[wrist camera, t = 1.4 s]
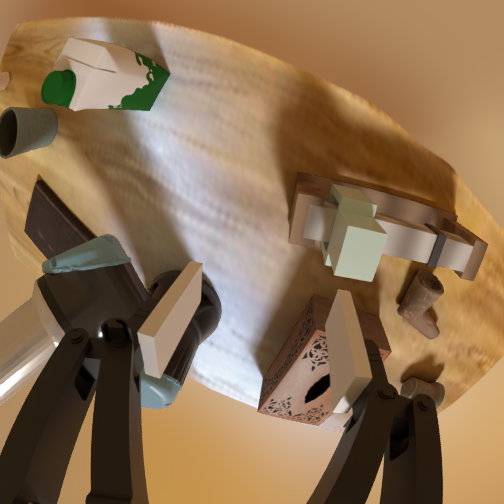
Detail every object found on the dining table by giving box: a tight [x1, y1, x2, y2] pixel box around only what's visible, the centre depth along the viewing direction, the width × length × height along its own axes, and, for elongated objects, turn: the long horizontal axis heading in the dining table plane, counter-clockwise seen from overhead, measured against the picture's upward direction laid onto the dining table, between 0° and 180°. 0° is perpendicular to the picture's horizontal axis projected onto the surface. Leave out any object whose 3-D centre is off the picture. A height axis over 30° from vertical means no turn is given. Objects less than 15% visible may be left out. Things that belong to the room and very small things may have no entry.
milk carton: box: [41, 37, 170, 111], centre depth 26 cm, size 9×9×20 cm
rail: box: [289, 172, 488, 281], centre depth 34 cm, size 29×8×11 cm, turn 82°
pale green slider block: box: [320, 184, 388, 282], centre depth 29 cm, size 4×8×13 cm, turn 172°
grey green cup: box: [0, 107, 58, 159], centre depth 34 cm, size 10×10×12 cm
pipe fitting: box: [400, 377, 445, 408], centre depth 49 cm, size 12×8×10 cm, turn 65°
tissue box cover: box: [258, 294, 392, 426], centre depth 48 cm, size 26×14×10 cm, turn 161°
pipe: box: [397, 270, 444, 339], centre depth 42 cm, size 6×17×10 cm
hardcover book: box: [24, 180, 95, 260], centre depth 50 cm, size 16×23×2 cm
